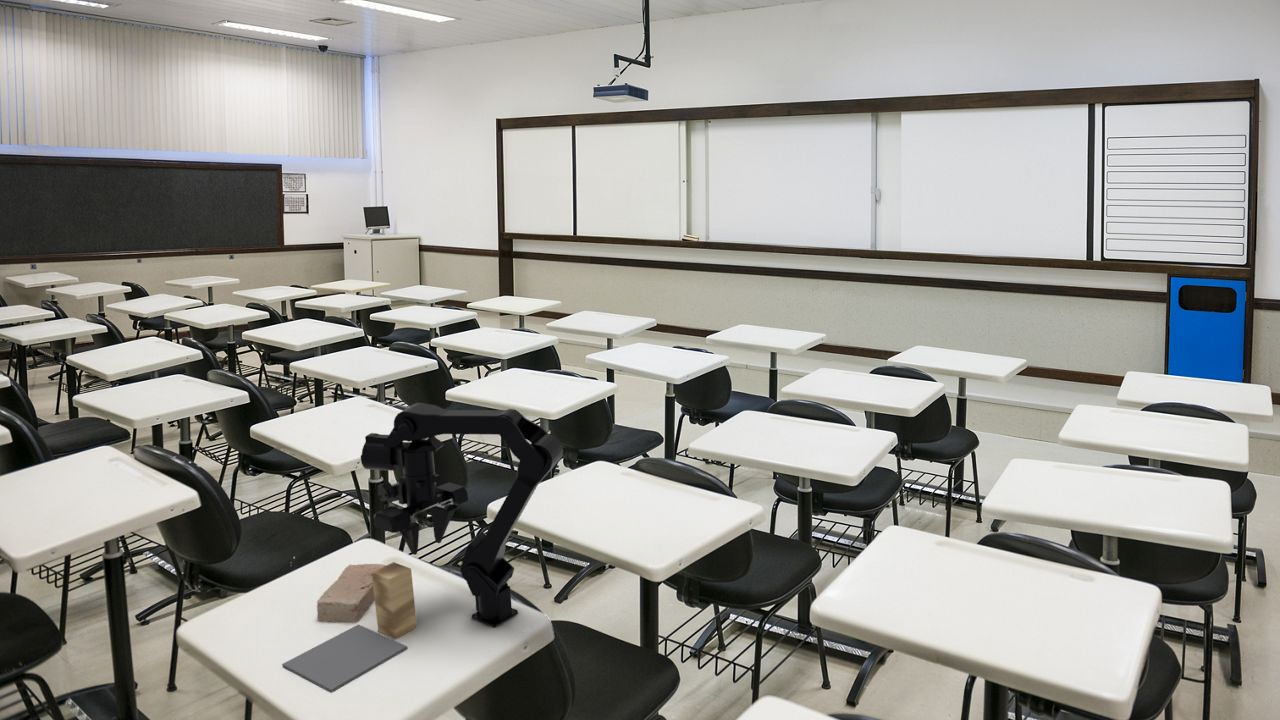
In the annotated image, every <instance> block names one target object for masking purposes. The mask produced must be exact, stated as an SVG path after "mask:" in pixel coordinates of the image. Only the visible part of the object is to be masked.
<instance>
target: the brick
mask: <svg viewBox="0 0 1280 720" xmlns="http://www.w3.org/2000/svg"><path fill="white" fill-rule="evenodd" d="M386 565H387V564H383V563H382V564H381V563H364V564H348V566H346V567H345V568H344V569H343V570H342V572H341V573H340V576H338V578H337V580H335V581H334V582H333V583H332V584H331V585H330V586H329V587H328V588H327V589H326V590H325V591H324V592H323V593H322V595H320V597H319V599H318V600H317V601H316V603H317V605H316V611H317V612H316V613H317V614H316V615H317V620H318V621H319V622H324V623H344V624H354V623H357V622H359V620H360V619H361V618H362V617H363V615H364V614H365V612H366V611H367V610H368V609H369V608H370V606H371V605H372V604H373V603H374V602H375V598H374V589H373V580H372V572H374V571H376V570H378V569H380V568H382V567H384V566H386Z"/></svg>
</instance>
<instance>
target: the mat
mask: <svg viewBox="0 0 1280 720" xmlns="http://www.w3.org/2000/svg"><path fill="white" fill-rule="evenodd" d="M407 649H408V646H407V645H406V644H404V643H401V642H399V641H397V640H396V639H395V640H394V639H393V638H391V637H389V636H388V637H387V635H383V634H382V633H380V632H378V631H377V632H376V631H374V630H372V629H370V628H368V627H365V626H363V625H360V624H358V623H357V624H356V625H355V626H352V627H351V628H349V629H347V630H345V631H343V632H341V633H339V634H338V635H336V636H335V635H334V637H331V638H329V639H328V640H325V641H324V642H322V643H320V644H317V645H316V646H314V647H312V648H311V649H308V650H306V651H304V652H302V653H301V654H299V655H296V656H295V657H293V658H290V660H287V661H286V662H283V663H282V664H281V665H282V667H283V668H284V669H286V670H288V671H290V672H292V673H294V674H296V675H298V676H299V677H302V678H303V679H305V680H307V681H309V682H311V683H313V684H315V685H316V686H319V687H321V688H322V689H324V690H326V691H327V692H330V693H333V692H335V691H337V690H338V689H340V688H342V687H344V686H345V685H347V684H349V683H350V682H352V681H354V680H356V679H357V678H359V677H361V676H362V675H365V674H366V673H368V672H369V671H371V670H373V669H375V668H377V667H378V666H380V665H381V664H384V663H385V662H387V661H388V660H390V659H392V658H393V657H396V656H397V655H399V654H401V653H402V652H404V651H406V650H407Z"/></svg>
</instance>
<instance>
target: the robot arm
mask: <svg viewBox="0 0 1280 720" xmlns="http://www.w3.org/2000/svg"><path fill="white" fill-rule="evenodd" d="M440 435H497V436H498V435H499V436H500V437H501V438H502V439H503V440H504V441H505V443H506V445H507V447H508V448H509V450H510V451H511V453H512V455H514V457H515V458H517V459H518V465H517V469H516V478H515V481H514V482H513V484H512V486H511V488H510V490H509V491H508V494H507V496H506V497H505V499H504V501H503V502H502V505H501V506H500V508H499V510H498V512H497V514H496V515H495V517H494V519H493V521H492V522H491V524H490V526H489V528H488V530H487V531H486V533H484V532H483V531H480V532H479V533H478V534H477V535H476V536H475V537H474V538H473V539H472V540H471V541H470V542H469V543H468V545H467V547H466V549H465V553H464V554H463V556H462V557H461V558H460V559H459V563H460V562H461V564H460V567H459V572H460V574H461V575H462V577H463V579H464V581H465V582H466V584H467V585H468V588H469V590H470V593H471V595H472V596H473V597H474V598H475V600H474V601H475V610H476V611H475V612H474V613H472V614H471V619H473V620H475V621H478V622H480V623H483V624H486V625H488V626H489V627H490V626H491V627H493V628H495V627H497V626H499V625H501V624H503V623H505V622H506V621H507V620H509V619H511V618H512V617H514V616H516V615H517V614H519V611H518V609H515V608H513V607H512V594H511V586H510V585H508V582H509V581H510V579H512V577H513V575H514V571H515V567H514V566H513V565H512V564H511V563H510V562H509V561H508V560H506V558H504V555H505V553H506V546H507V540H508V538H509V537H510V535H511V533H512V532H513V530H514V529H515V526H516V524H517V523H518V521H519V520H520V517H521V516H522V513H523V512H524V510H525V509H526V506H527V505H528V503H529V501H530V500H531V498H532V496H533V494H534V493H535V491H536V489H537V487H538V486H539V484H540V483H541V482H542V481H543V479H544V478H545V477H546V476H547V475H548V474H549V472H551V470H552V469H553V468H554V467H555V466H556V464H558V462H559V461H560V460H561V458H562V457H563V454H564V448H563V445H562V442H561V441H560V440H559V439H558V438H557V437H556V436H554V435H552V434H550V433H548V432H547V431H546V430H545V429H544V428H543V427H542V426H540V425H539V424H538V423H535V422H533V421H531V420H529V419H528V418H526V417H525V416H524V415H523V414H522V413H520V412H519V411H518V410H516V409H513V408H508V409H497V410H495V409H492V410H491V409H482V410H481V409H476V410H475V409H463V410H462V409H454V410H453V409H445V408H443V407H440V406H438V405H436V404H432V403H431V404H429V403H425V402H417V403H414V404H411V406H408V407H406V408H405V409H403V410H402V411H400V412H398V413H397V414H396V415H395V416H394V420H393V428H392V429H391V431H390V433H389V434H380V433H376V432H371V433H369V434H367V435H365V436H364V437H365V442H364V444H363V446H362V450H361V455H360V462H361V465H362V466H363V467H362V468H364V469H365V470H371V471H373V470H375V471H376V470H377V471H389V472H390V471H393V472H394V471H397V470H398V469H399V468H400V466H402V471H403V476H400V477H399V479H398V481H397V482H395V483H393V484H392V483H391V482H385V483H381V484H378V485H377V495H378V498H379V500H380V501H381V502H386V501H388V504H392V503H393V502H397V501H398V504H400V505H406V507H403V508H399V507H395V506H392V505H390V506H388V507H386V508H383V509H381V510H378V511H376V512H375V514H374V515H373V527H375V528H377V529H380V530H382V531H386V532H388V533H391V534H393V533H394V534H395V533H400V534H401V536H402V537H403V540H404V541H405V543H406V546H407V547H408V549H409V551H410V553H411V554H412V555H414V556H415V555H417V554H418V550H419V537H420V524H419V523H417V522H415V519H414V518H415V516H416V515H418V514H420V513H422V512H425V511H427V510H429V512H430V514H431V518H432V526H433V535H434V540H435V543H436V544H440V543H442V541H443V539H444V536H445V533H446V531H447V528H448V525H449V523H450V522H451V519H452V517H454V515H455V514H454V513H455V511H457V510H458V509H459V505H462V504H464V503H466V502H468V501H469V500H470V499H469V490H468V489H467V487H465V486H463V485H460V484H456V483H453V482H446V483H444V484H441V485H438V486H437V483H438V482H439V481H441V475H440V474H436V471H435V469H436V468H435V460H434V452H435V453H436V452H437V451H438V450H440V449H441V448H442V447H444V445H445V444H444V442H443V441H442V440H441V439H438V438H437V437H436V436H440Z"/></svg>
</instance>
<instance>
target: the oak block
mask: <svg viewBox="0 0 1280 720" xmlns="http://www.w3.org/2000/svg"><path fill="white" fill-rule="evenodd" d="M385 565H386V566H384V567H382V568H380V569H378V570H376V571H374V572H372V580H373V589H374V598H375V600H374V607H375V614H376V623H377V633H380V634H382V635H383V634H384V636H386V637H387V636H388V637H389V638H391V639H393V640H394V639H395V640H397V639H399V638H400V637H402V636H404V635H406V634H408V633H409V632H411V631H412V630H415V629H416V628H418V625H417V615H416V604H415V595H414V586H413V585H414V584H413V574H412V568H411V567H409V566H406V565H402V564H400V563H398V562H394V561H393V562H390V563H388V564H385Z"/></svg>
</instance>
